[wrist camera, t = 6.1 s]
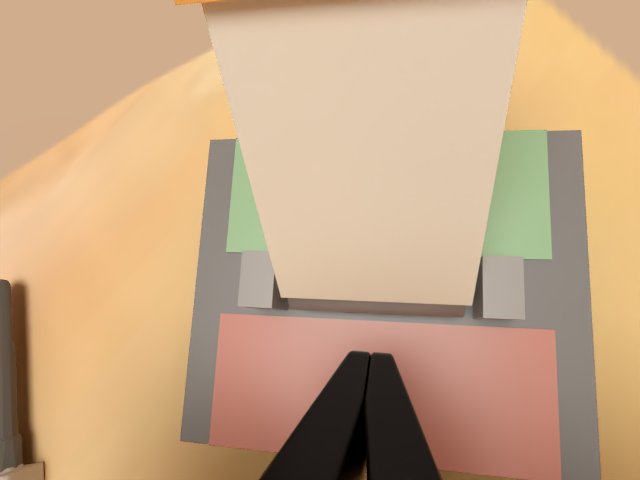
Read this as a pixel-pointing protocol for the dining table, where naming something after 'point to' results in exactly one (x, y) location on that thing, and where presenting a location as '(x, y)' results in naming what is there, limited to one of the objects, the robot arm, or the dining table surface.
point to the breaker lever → (370, 141)
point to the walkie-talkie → (11, 401)
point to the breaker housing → (414, 329)
